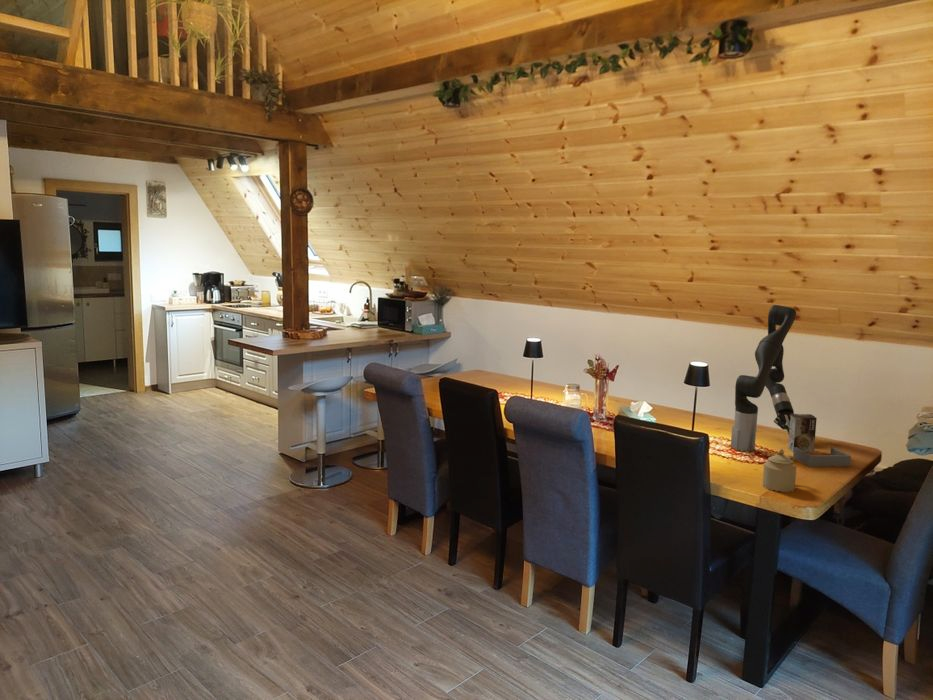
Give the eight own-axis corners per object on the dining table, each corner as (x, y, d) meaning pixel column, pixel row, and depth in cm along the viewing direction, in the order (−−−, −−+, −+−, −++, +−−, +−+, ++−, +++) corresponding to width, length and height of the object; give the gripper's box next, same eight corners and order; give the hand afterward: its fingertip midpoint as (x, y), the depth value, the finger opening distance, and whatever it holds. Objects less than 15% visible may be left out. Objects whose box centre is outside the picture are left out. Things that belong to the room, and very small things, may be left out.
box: (808, 466, 274) (809, 456, 273) (793, 457, 286) (793, 447, 285) (849, 466, 274) (851, 456, 274) (832, 457, 287) (833, 447, 286)
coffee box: (808, 448, 299) (811, 414, 297) (814, 453, 293) (817, 417, 290) (787, 448, 300) (790, 413, 297) (792, 452, 293) (795, 416, 291)
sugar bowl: (760, 477, 259) (763, 440, 257) (791, 481, 256) (795, 443, 253) (763, 490, 246) (766, 451, 243) (796, 494, 242) (799, 454, 240)
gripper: (771, 400, 309) (782, 432, 299) (799, 400, 310) (811, 432, 299) (765, 408, 315) (775, 440, 305) (792, 408, 316) (804, 441, 305)
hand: (793, 436), depth 302 cm, fingers closed
